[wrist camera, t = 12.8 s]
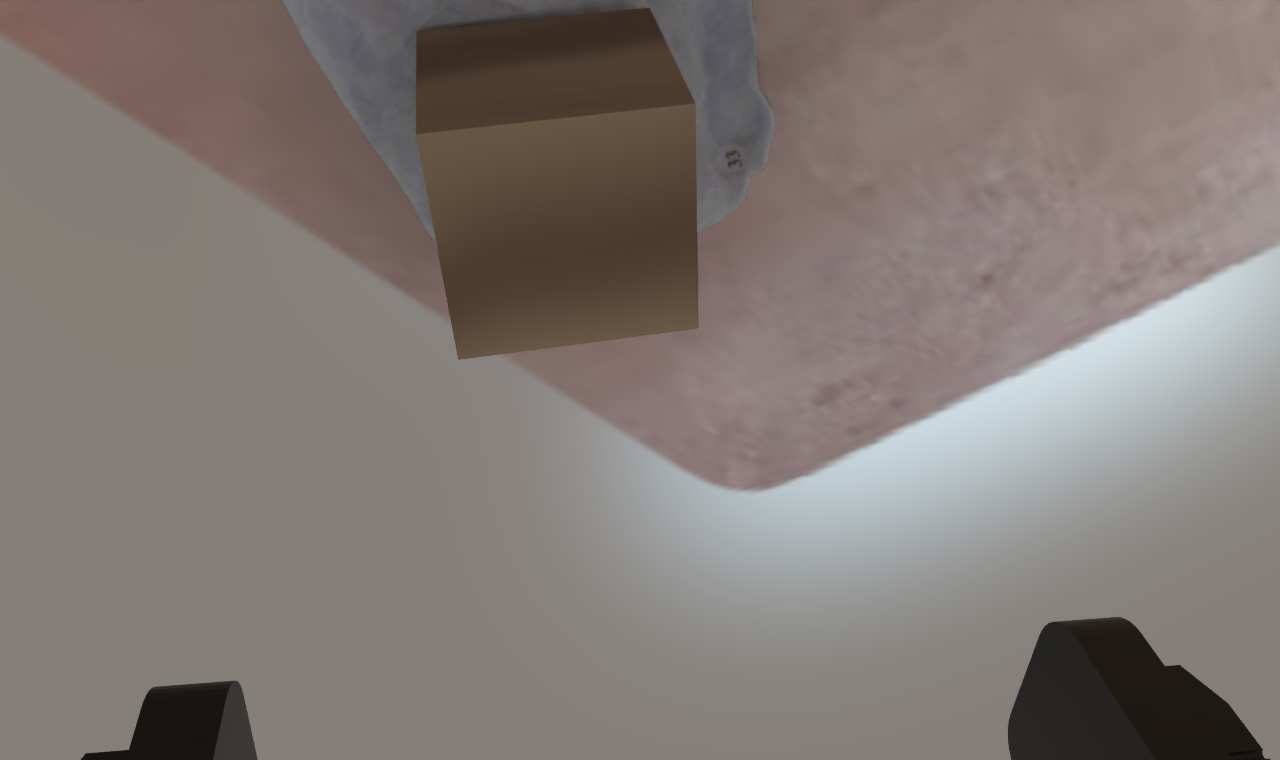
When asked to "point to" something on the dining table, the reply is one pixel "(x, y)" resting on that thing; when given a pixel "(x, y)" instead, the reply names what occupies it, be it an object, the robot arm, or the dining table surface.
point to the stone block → (405, 3)
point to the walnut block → (559, 180)
